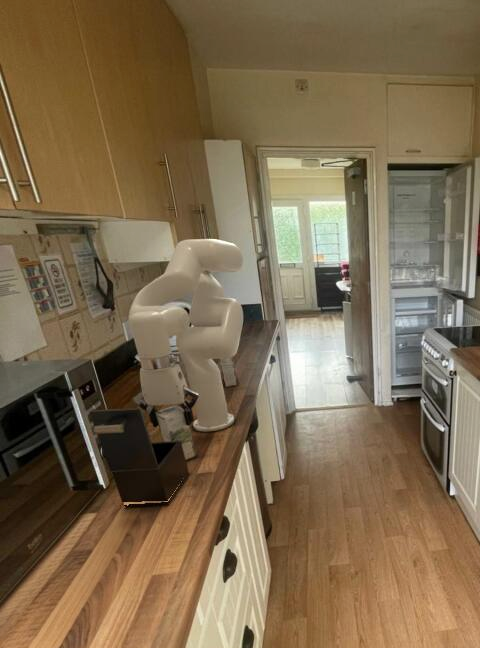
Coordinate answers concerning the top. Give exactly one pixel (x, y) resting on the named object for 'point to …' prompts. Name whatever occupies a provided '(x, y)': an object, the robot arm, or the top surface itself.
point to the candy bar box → (228, 372)
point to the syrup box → (176, 429)
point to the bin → (154, 477)
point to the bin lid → (124, 439)
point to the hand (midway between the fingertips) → (173, 424)
